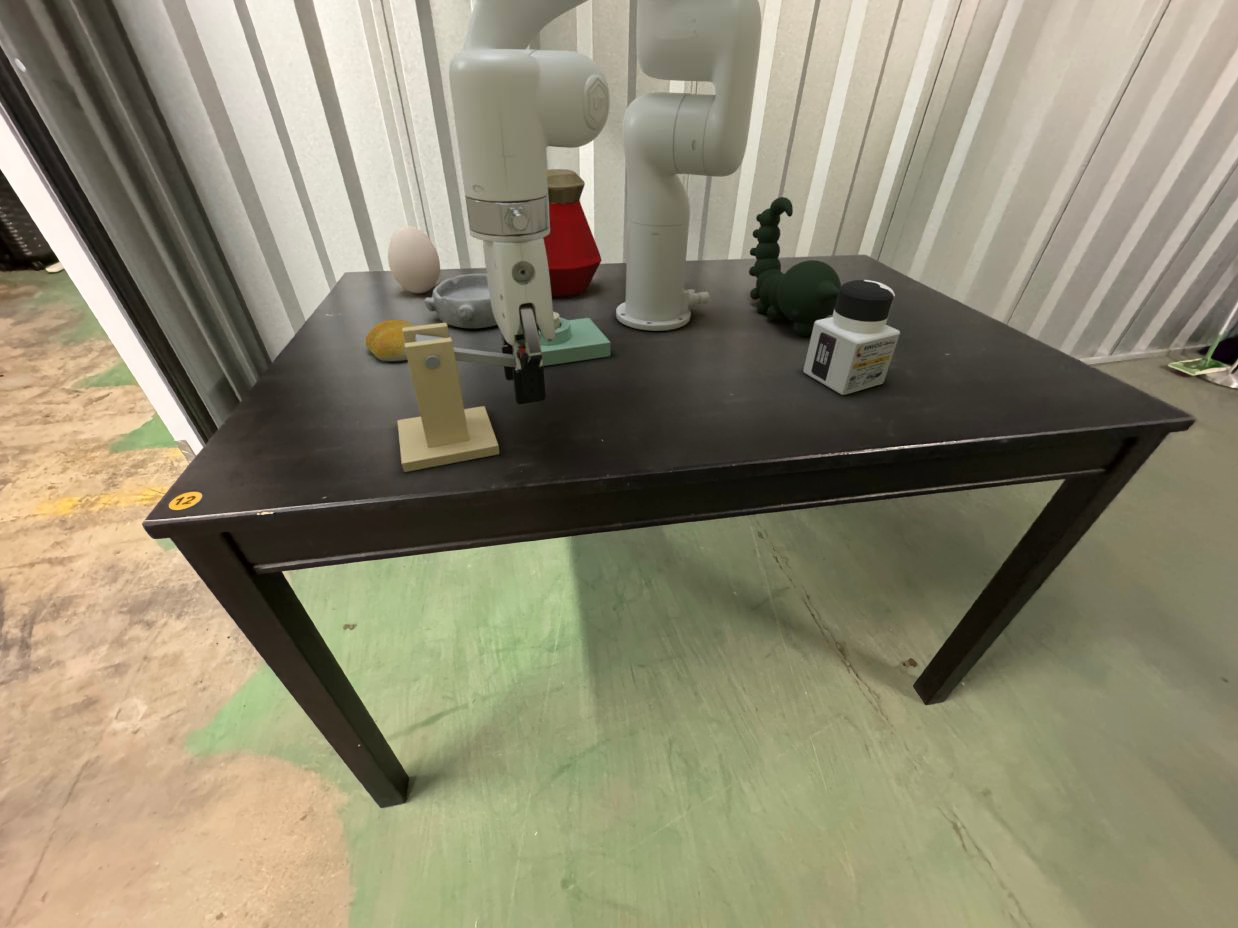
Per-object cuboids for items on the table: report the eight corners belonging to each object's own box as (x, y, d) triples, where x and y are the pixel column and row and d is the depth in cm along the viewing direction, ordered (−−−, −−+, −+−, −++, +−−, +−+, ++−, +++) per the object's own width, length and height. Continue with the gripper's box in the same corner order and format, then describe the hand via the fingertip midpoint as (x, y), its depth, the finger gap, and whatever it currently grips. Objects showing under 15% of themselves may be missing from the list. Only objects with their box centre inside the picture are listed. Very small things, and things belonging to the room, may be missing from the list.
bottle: (587, 275, 111) (585, 163, 99) (613, 296, 101) (615, 175, 89) (511, 284, 106) (499, 167, 94) (531, 307, 96) (521, 180, 84)
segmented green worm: (730, 307, 102) (800, 352, 82) (741, 195, 92) (824, 212, 72) (776, 304, 104) (856, 346, 83) (792, 193, 94) (887, 210, 74)
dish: (489, 295, 101) (486, 267, 98) (536, 316, 93) (534, 287, 90) (417, 315, 92) (410, 285, 89) (461, 340, 84) (456, 308, 82)
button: (556, 321, 82) (555, 309, 81) (562, 330, 79) (562, 318, 78) (532, 324, 81) (531, 312, 80) (538, 333, 78) (537, 321, 77)
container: (842, 396, 72) (871, 299, 64) (801, 372, 77) (823, 280, 70) (884, 384, 75) (916, 290, 67) (841, 362, 80) (866, 272, 73)
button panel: (589, 330, 88) (589, 306, 86) (610, 356, 81) (610, 330, 78) (515, 340, 85) (512, 315, 82) (530, 368, 77) (528, 341, 75)
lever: (524, 363, 63) (528, 344, 62) (535, 383, 59) (539, 362, 58) (412, 350, 57) (414, 328, 56) (416, 370, 54) (418, 348, 53)
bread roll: (385, 369, 76) (378, 342, 74) (361, 347, 82) (354, 322, 79) (440, 353, 81) (435, 327, 78) (414, 333, 86) (409, 309, 84)
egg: (454, 292, 102) (443, 226, 95) (412, 304, 97) (398, 235, 90) (427, 281, 106) (415, 218, 100) (386, 292, 101) (370, 226, 94)
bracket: (485, 414, 67) (470, 312, 59) (499, 454, 60) (484, 345, 53) (399, 428, 64) (372, 323, 56) (404, 472, 57) (373, 360, 50)
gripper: (574, 235, 46) (579, 421, 57) (527, 197, 59) (539, 354, 69) (483, 241, 44) (506, 434, 54) (456, 200, 57) (479, 362, 67)
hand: (524, 387), depth 62 cm, fingers closed on lever, 5 cm apart
